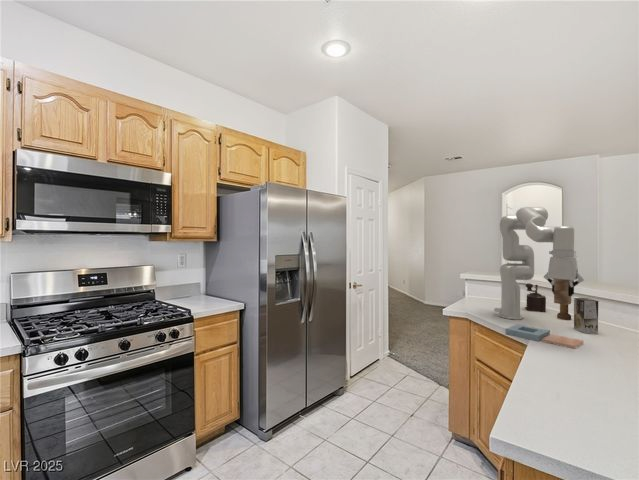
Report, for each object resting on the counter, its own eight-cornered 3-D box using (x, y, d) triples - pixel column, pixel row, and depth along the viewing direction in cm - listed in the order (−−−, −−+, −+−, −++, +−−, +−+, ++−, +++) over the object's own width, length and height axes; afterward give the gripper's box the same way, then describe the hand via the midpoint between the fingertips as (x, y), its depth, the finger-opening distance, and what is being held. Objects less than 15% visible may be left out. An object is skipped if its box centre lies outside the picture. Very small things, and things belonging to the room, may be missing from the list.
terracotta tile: (542, 341, 145) (542, 338, 145) (551, 336, 153) (551, 334, 153) (574, 348, 136) (574, 345, 136) (583, 343, 143) (583, 340, 143)
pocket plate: (505, 333, 157) (505, 328, 157) (517, 329, 165) (517, 324, 165) (538, 341, 146) (538, 335, 146) (549, 335, 154) (549, 330, 154)
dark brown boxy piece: (525, 307, 218) (525, 280, 217) (545, 309, 212) (545, 282, 211) (525, 311, 204) (525, 283, 204) (546, 314, 198) (546, 284, 198)
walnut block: (554, 303, 145) (554, 278, 145) (557, 301, 148) (558, 277, 148) (567, 304, 141) (567, 279, 141) (571, 303, 144) (571, 278, 144)
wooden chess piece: (554, 317, 191) (554, 286, 191) (564, 317, 191) (564, 286, 191) (563, 320, 184) (563, 288, 184) (574, 320, 185) (574, 288, 184)
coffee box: (598, 334, 157) (599, 301, 157) (583, 333, 159) (584, 300, 158) (587, 329, 166) (587, 297, 166) (573, 328, 167) (573, 297, 167)
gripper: (538, 253, 149) (537, 293, 149) (584, 255, 135) (584, 298, 135) (544, 253, 153) (543, 291, 153) (589, 254, 140) (589, 296, 140)
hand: (562, 294), depth 144 cm, fingers closed on walnut block, 5 cm apart
